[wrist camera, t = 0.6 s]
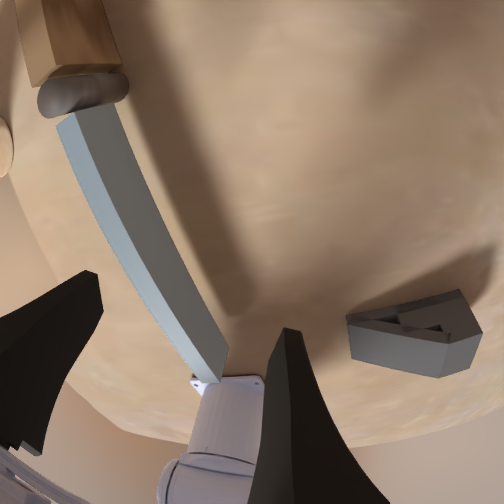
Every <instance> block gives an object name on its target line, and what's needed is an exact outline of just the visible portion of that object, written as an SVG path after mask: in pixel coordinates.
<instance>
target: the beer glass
mask: <svg viewBox="0 0 504 504" xmlns="http://www.w3.org/2000/svg"><path fill="white" fill-rule="evenodd" d="M12 159H13V143H12V137H11V133H10V130H9V127H8V125H7V124H6V122H5V121H4V120H3V119H2V118H1V117H0V177H2V176H4V175H6V174H7V172H8V171H9V169H10V167H11V164H12Z"/></svg>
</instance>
